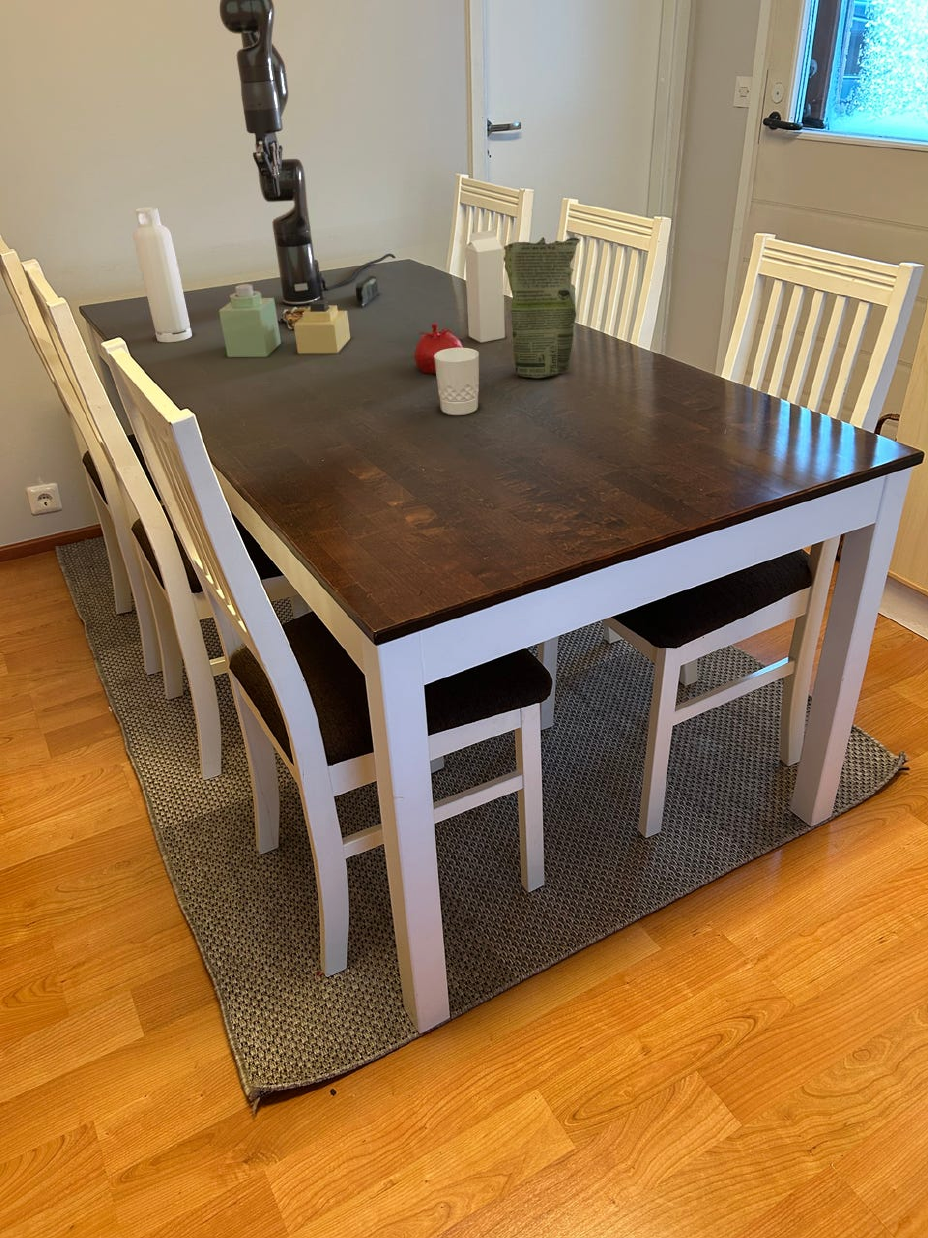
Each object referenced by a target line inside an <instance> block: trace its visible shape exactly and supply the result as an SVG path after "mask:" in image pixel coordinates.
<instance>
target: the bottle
mask: <svg viewBox="0 0 928 1238" xmlns="http://www.w3.org/2000/svg"><path fill="white" fill-rule="evenodd" d="M134 211H135V214H136V220H137V224H138V227H137V228H136V229H135V231H133V236H132V237H133V241H134V245H135V250H136V255H137V258H138V262H139V267H140V271H141V277H142V280H143V286H144V290H145V293H146V298H147V302H148V307H149V311H150V315H151V319H152V324H153V328H154V330H155V332H154V333H155V336H156V340H157V342H160V343H176V342H183V341H186V340H187V339H190V338H192V337H193V333H192V327H190V325H191V322H190V318H189V314H188V309H187V303H186V299H185V295H184V290H183V284H182V279H181V274H180V271H179V270H180V269H179V265H178V260H177V256H176V252H175V251H176V250H175V246H174V241H173V237H172V232H171V231H170V229H169V228H168V227H167V226H165V225H163V224H162V222H161V218H160V212H159V208H158V207H157V206H147V207H139V208H136V209H135V210H134ZM146 214H148V216H146Z"/></svg>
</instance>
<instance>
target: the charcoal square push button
mask: <svg viewBox="0 0 928 1238" xmlns="http://www.w3.org/2000/svg"><path fill="white" fill-rule="evenodd" d="M329 306H330V305H329V300H328V299H320V300H314V301H313V302H312V303H310V304H309V307H310V310H311V312H326V311H327V310H328V309H329Z"/></svg>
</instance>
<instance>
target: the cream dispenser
mask: <svg viewBox="0 0 928 1238" xmlns="http://www.w3.org/2000/svg"><path fill="white" fill-rule="evenodd" d="M328 306H329V309H328V310H327V311H326V312H311V310H310V306H308V307H306V310H305V311H304V312H303V313H302V315H303V317H302V318H301V319H300V320H299V321H297V322H296V323H295V324H294V329H293V331H294V335H295V341H296V350H297V354H339V353H340V351H341V350H342V349H343V348H344V347H345V345H346V344H347V343H348V342H349V340H350V339H351V333H350V325H349V317H348V310H338V305H328Z"/></svg>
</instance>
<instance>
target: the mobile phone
mask: <svg viewBox="0 0 928 1238" xmlns="http://www.w3.org/2000/svg"><path fill="white" fill-rule="evenodd" d="M378 293H379V287H378V279H377V276H375V275H368V276H367V277H365V278H364V279H363V280H361V281H359V282H357V284H356V287H355V295H356V296H355V297H356V303H357V304H360V307H361V308H363V307H364V306H365V305H366V304H368V303H369V302H370V301H371V300H373V298H375V297H376V296H377V295H378Z"/></svg>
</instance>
